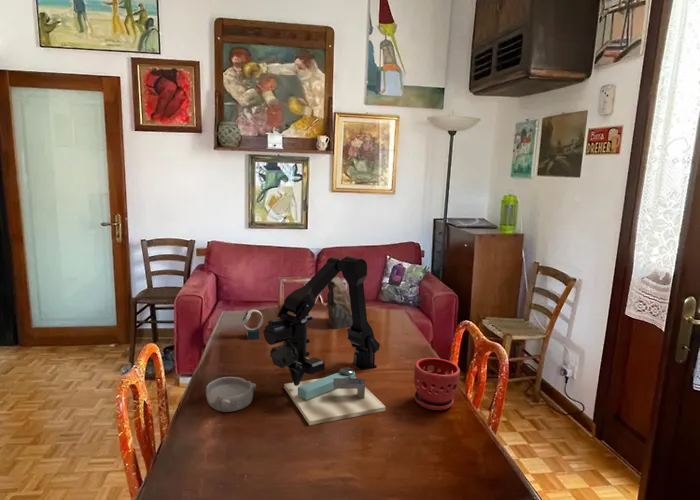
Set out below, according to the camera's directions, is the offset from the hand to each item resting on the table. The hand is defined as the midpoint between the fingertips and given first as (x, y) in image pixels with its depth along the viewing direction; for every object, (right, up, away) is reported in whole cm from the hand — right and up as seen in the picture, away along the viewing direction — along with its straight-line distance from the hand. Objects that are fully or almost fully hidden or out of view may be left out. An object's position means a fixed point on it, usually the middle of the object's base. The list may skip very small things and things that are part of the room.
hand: (296, 385), depth 153 cm
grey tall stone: (+12, +9, +65) cm, 66 cm away
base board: (+11, -3, -2) cm, 12 cm away
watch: (-22, +6, +46) cm, 52 cm away
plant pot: (+41, -5, -3) cm, 42 cm away
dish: (-19, -3, -6) cm, 20 cm away
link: (+10, -1, +1) cm, 10 cm away
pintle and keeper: (+16, -2, +2) cm, 16 cm away
